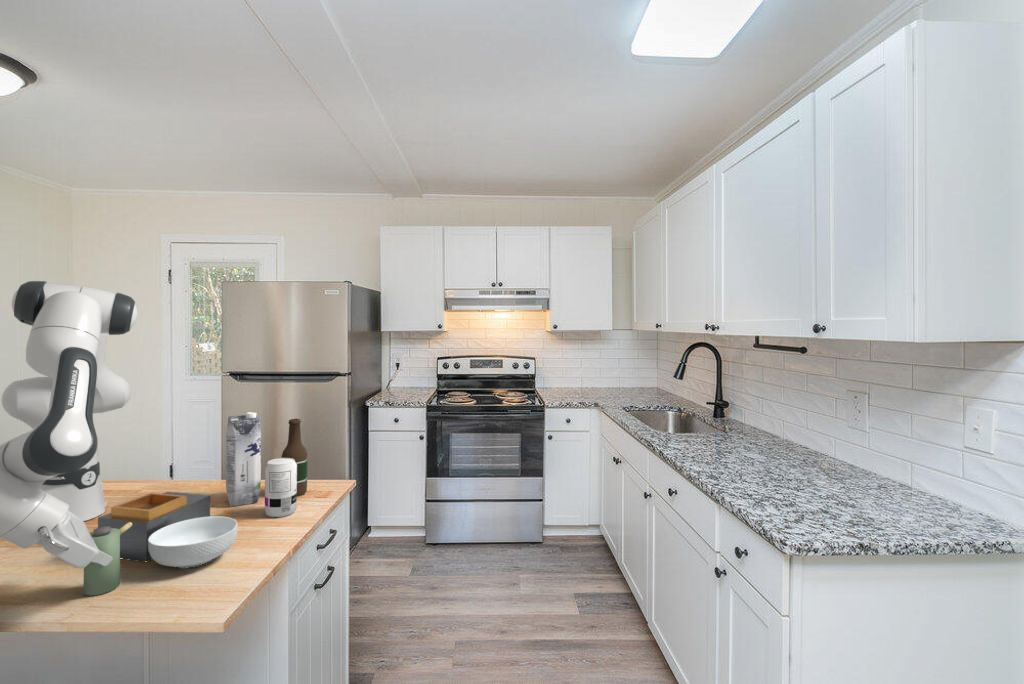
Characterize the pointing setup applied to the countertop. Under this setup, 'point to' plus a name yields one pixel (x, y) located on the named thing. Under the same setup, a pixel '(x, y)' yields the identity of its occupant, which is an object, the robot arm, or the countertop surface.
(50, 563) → the countertop surface
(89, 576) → the oil can
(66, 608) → the countertop surface
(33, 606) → the countertop surface
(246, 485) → the juice carton
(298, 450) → the beer bottle
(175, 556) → the cereal bowl
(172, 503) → the box
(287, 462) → the supplement can
